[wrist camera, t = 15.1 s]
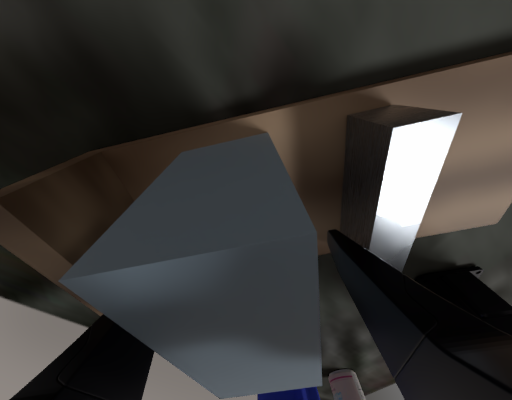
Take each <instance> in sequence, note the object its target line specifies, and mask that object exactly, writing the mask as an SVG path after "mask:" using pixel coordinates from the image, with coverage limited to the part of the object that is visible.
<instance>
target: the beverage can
mask: <svg viewBox="0 0 512 400" xmlns="http://www.w3.org/2000/svg"><path fill="white" fill-rule="evenodd" d="M328 378H329V382H330V385H331V389H332V392H333V396H334V399H335V400H366V399H365V396H364V394H363V391H362V389H361V386H360V383H359V381H358V378H357V376H356V373H355V372H353V370H350V369H343V370H337V371H334V372H332V373H330V374H329V377H328Z"/></svg>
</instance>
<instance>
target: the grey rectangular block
mask: <svg viewBox="0 0 512 400" xmlns="http://www.w3.org/2000/svg"><path fill="white" fill-rule="evenodd" d="M461 116H462V113H459V112H451V111H443V110H435V109H427V108H419V107H411V106H403V105H395V104H393V105H389V106H384V107H380V108H376V109H371V110H367V111H363V112H358V113H354V114H349V115H347V127H346V143H345V159H344V174H343V190H342V206H341V222H340V232H341V233H343V234H344V235H346V236H347V237H349V238H350V239H352V240H353V241H355V242H356V243H358V244H359V245H361V246H362V247H364V248H365V249H367V250H368V251H370V252H371V253H373V254H374V255H376V256H378V257H379V258H381V259H382V260H384V261H385V262H387V263H388V264H390V265H391V266H393V267H394V268H396V269H397V270H399V271H400V272H402V271H403V268H404V265H405V263H406V260H407V257H408V255H409V252H410V250H411V247H412V244H413V242H414V239H415V236H416V234H417V231H418V228H419V226H420V223H421V221H422V218H423V215H424V213H425V210H426V207H427V205H428V202H429V200H430V197H431V194H432V192H433V189H434V186H435V184H436V181H437V179H438V176H439V173H440V171H441V168H442V165H443V163H444V160H445V158H446V155H447V152H448V150H449V147H450V144H451V142H452V139H453V137H454V134H455V131H456V129H457V126H458V123H459V121H460V118H461Z"/></svg>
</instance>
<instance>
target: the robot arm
mask: <svg viewBox="0 0 512 400" xmlns="http://www.w3.org/2000/svg"><path fill="white" fill-rule="evenodd" d="M327 243H328V247H329V249H330V252H331V254H332V257H333V260H334V262H335V265H336V267H337V270H338V272H339V274H340V276H341V278H342V280H343V282H344V284H345V286H346V288H347V290H348V292H349V294H350V295H351V297H352V299H353V301H354V303H355V305H356V307H357V309H358V311H359V313H360V315H361V316H362V318H363V320H364V322H365V324H366V326H367V328H368V330H369V332H370V334H371V336H372V337H373V339H374V341H375V343H376V345H377V347H378V349H379V351H380V353H381V355H382V357H383V359H384V360H385V362H386V364H387V366H388V368H389V370H390V372H391V374H392V376H393V378H395V382H396V384H397V385H398V387H399V389H400V391H401V393H402V395H403V397H404V399H405V400H512V306H511V305H509V304H508V303H507V302H506V301H505V300H503V299H502V298H501V297H500V296H499V295H497V294H496V293H495V292H494V291H493V290H491V289H490V288H489V287H488V286H486V285H485V284H484V283H483V282H482V281H480V280H479V279H478V278H479V277H480V275H481V274H482V273H483V271H484V270H483V269H481V268H480V267H478V266H477V267H471V268H465V269H458V270H452V271H446V272H440V273H434V274H428V275H422V276H420V277H418V279H417V281H414V280H413V279H411V278H410V277H408V276H407V275H405V274H404V275H403V273H402V272H400V271H399V270H397V269H396V268H394V267H393V266H391V265H390V264H388V263H387V262H385V261H384V260H382V259H381V258H379V257H378V256H376V255H374V254H373V253H371V252H370V251H368V250H367V249H365V248H364V247H362V246H361V245H359V244H358V243H356V242H355V241H353V240H352V239H350V238H349V237H347V236H346V235H344V234H343V233H341V232H340V231H338V230H336V229H332V230H328V232H327ZM153 354H154V350H152V349H151V348H149V347H148V346H147V345H145V344H144V343H143V342H141V341H140V340H138V339H137V338H136V337H134V336H133V335H132V334H130V333H129V332H127V331H126V330H125V329H123V328H122V327H121V326H119V325H118V324H116V323H115V322H114V321H112V320H111V319H110V318H108V317H107V316H105V315H104V314H103V315H102V316H101V317H100V318H99V319H98V320H97V321H96V322H94V323H93V324H92V326H90V327H89V328H88V329H87V330H86V331H85V332H84V333H83V334H82V335H81V336H80V337H79V338H78V339H77V340H76V341H75V342H74V343H73V344H72V345H70V346H69V347H68V348H67V349H66V350H65V351H64V352H63V353H62V354H61V355H60V356H58V357H57V358H56V359H55V360H54V361H53V362H52V363H51V364H49V365H48V366H47V367H46V368H45V369H44V370H43V371H42V372H41V373H39V374H38V375H37V376H36V377H35V378H34V379H33V380H31V382H29V383H28V384H27V385H26V386H25V387H24V388H22V389H21V390H20V391H19V392H18V393H17V394H16V395H14V396H13V397H12V398H11V399H10V400H142V396H143V392H144V388H145V384H146V381H147V377H148V373H149V369H150V366H151V362H152V358H153Z"/></svg>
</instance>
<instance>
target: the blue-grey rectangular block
mask: <svg viewBox="0 0 512 400" xmlns="http://www.w3.org/2000/svg"><path fill="white" fill-rule="evenodd" d="M59 282H60V283H62V284H63V285H64V286H66V287H67V288H68V289H70V290H71V291H72V292H74V293H75V294H77V295H78V296H79V297H81V298H82V299H83V300H85V301H86V302H88V303H89V304H90V305H92V306H93V307H94V308H96V309H97V310H99V311H100V312H101V313H103V314H104V315H105V316H107V317H108V318H110V319H111V320H112V321H114V322H115V323H116V324H118V325H119V326H121V327H122V328H123V329H125V330H126V331H127V332H129V333H130V334H132V335H133V336H134V337H136V338H137V339H138V340H140V341H141V342H143V343H144V344H145V345H147V346H148V347H149V348H151V349H152V350H154V351H155V352H156V353H158V354H159V355H161V356H162V357H163V358H164V359H166V360H167V361H169V362H170V363H172V364H173V365H174V366H176V367H177V368H178V369H180V370H181V371H182V372H184V373H185V374H186V375H188V376H189V377H191V378H192V379H193V380H195V381H196V382H197V383H199V384H200V385H202V386H203V387H204V388H206V389H207V390H208V391H210V392H211V393H213V394H214V395H215V396H217V397H218V398H219V399H224V398H232V397H239V396H247V395H255V394H262V393H270V392H278V391H286V390H293V389H301V388H309V387H316V386H322V365H321V336H320V306H319V277H318V248H317V231H316V229H315V227H314V225H313V223H312V221H311V219H310V217H309V215H308V213H307V211H306V209H305V207H304V205H303V203H302V201H301V199H300V197H299V195H298V193H297V191H296V188H295V186H294V184H293V182H292V180H291V178H290V176H289V174H288V172H287V170H286V168H285V166H284V164H283V162H282V160H281V158H280V156H279V154H278V152H277V150H276V148H275V146H274V144H273V142H272V140H271V138H270V136H269V133H268V132H267V133H262V134H258V135H254V136H249V137H245V138H241V139H236V140H232V141H228V142H223V143H219V144H215V145H210V146H206V147H202V148H197V149H193V150H189V151H184V152H181V153H180V154H179V155H178V156H177V157H176V159H175V160H174V161H173V162H172V163H171V164H170V165H169V166H168V167H167V168H166V169H165V170H164V171H163V172H162V173H161V174H160V175H159V176H158V177H157V178H156V179H155V180H154V181H153V183H152V184H151V185H150V186H149V187H148V188H147V189H146V190H145V191H144V192H143V193H142V194H141V195H140V196H139V197H138V198H137V199H136V200H135V201H134V202H133V203H132V204H131V206H130V207H129V208H128V209H127V210H126V211H125V212H124V213H123V214H122V215H121V216H120V217H119V218H118V219H117V220H116V221H115V222H114V223H113V224H112V225H111V226H110V227H109V228H108V230H107V231H106V232H105V233H104V234H103V235H102V236H101V237H100V238H99V239H98V240H97V241H96V242H95V243H94V244H93V245H92V246H91V247H90V248H89V249H88V250H87V251H86V252H85V254H84V255H83V256H82V257H81V258H80V259H79V260H78V261H77V262H76V263H75V264H74V265H73V266H72V267H71V268H70V269H69V270H68V271H67V272H66V273H65V274H64V275H63V277H62V278H61V279H60V280H59Z"/></svg>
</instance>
